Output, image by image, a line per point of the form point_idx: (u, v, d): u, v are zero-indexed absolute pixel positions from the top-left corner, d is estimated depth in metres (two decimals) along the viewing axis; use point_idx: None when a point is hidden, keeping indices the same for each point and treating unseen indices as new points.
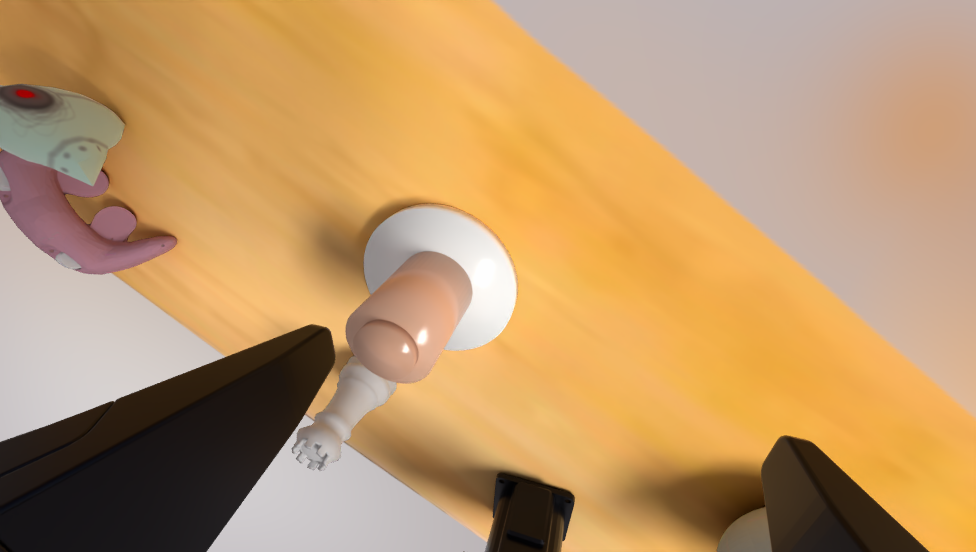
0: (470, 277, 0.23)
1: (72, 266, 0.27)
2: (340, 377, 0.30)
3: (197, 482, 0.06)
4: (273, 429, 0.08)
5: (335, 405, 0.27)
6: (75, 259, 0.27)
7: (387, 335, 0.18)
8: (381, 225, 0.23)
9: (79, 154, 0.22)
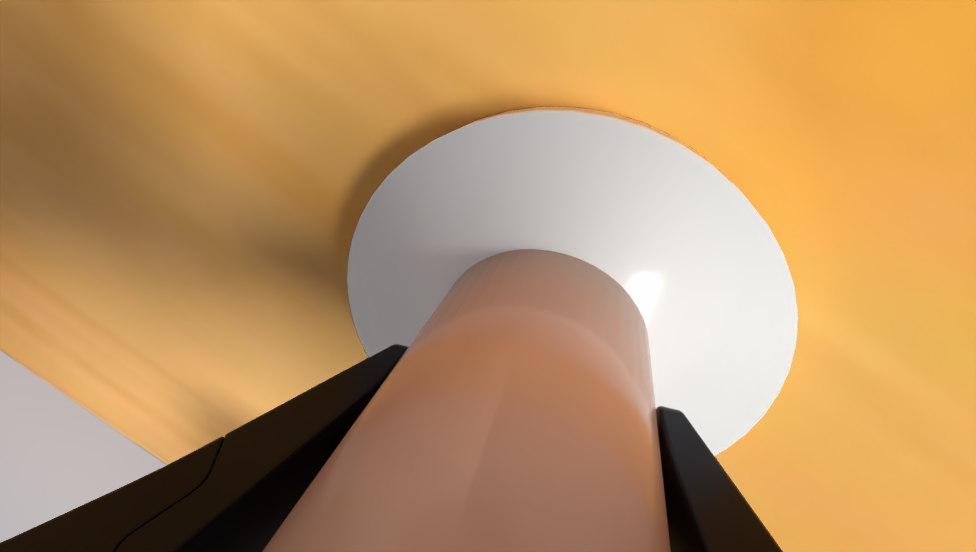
0: (650, 325, 0.08)
1: None
2: None
3: None
4: None
5: None
6: None
7: None
8: (395, 175, 0.08)
9: None
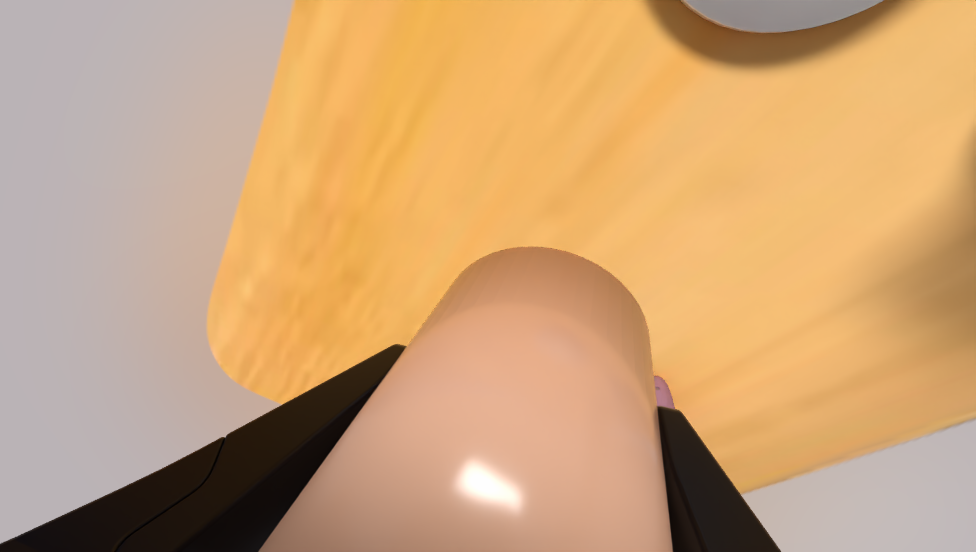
0: None
1: None
2: None
3: None
4: None
5: None
6: None
7: None
8: None
9: None
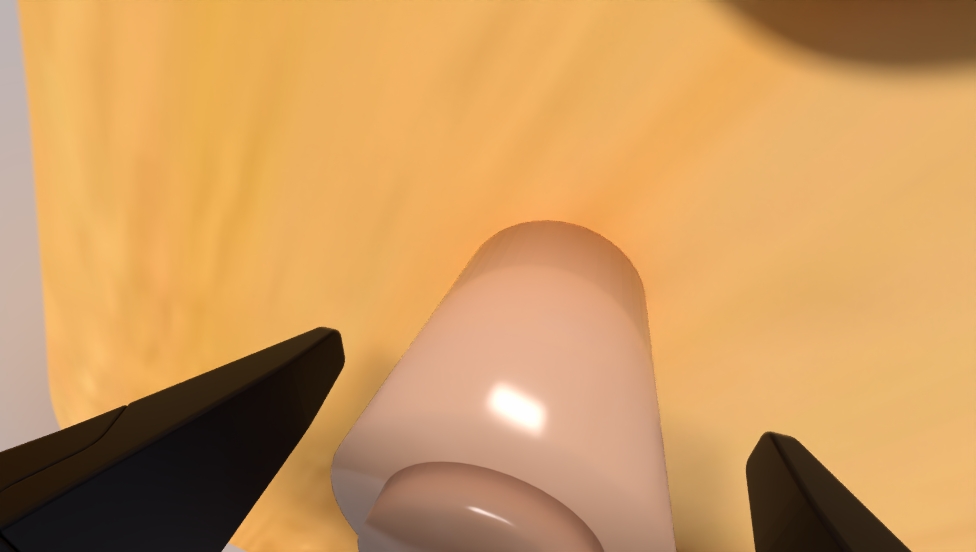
0: None
1: None
2: None
3: (209, 487, 0.06)
4: (284, 432, 0.08)
5: None
6: None
7: (508, 549, 0.04)
8: None
9: None
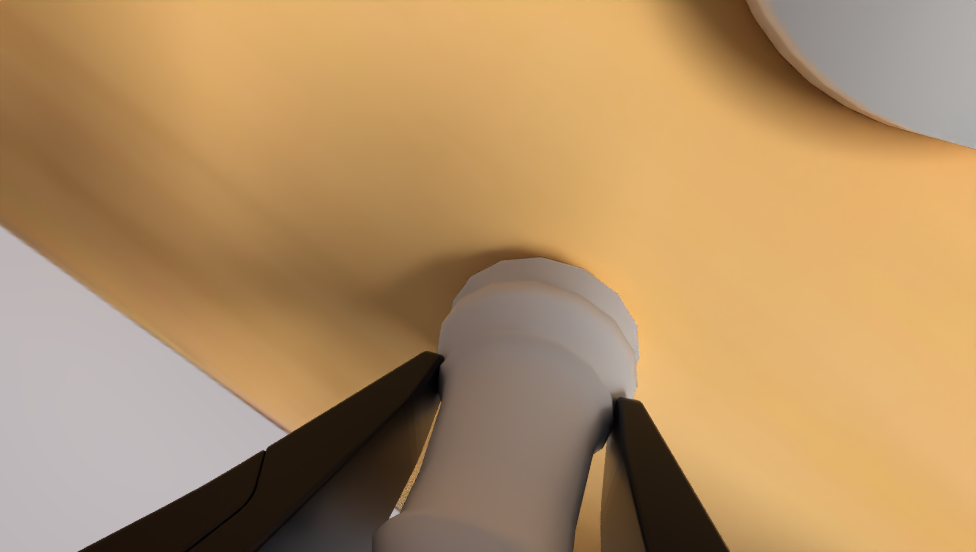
0: None
1: None
2: (449, 341, 0.08)
3: (345, 536, 0.06)
4: (401, 469, 0.07)
5: (482, 469, 0.05)
6: None
7: None
8: None
9: None
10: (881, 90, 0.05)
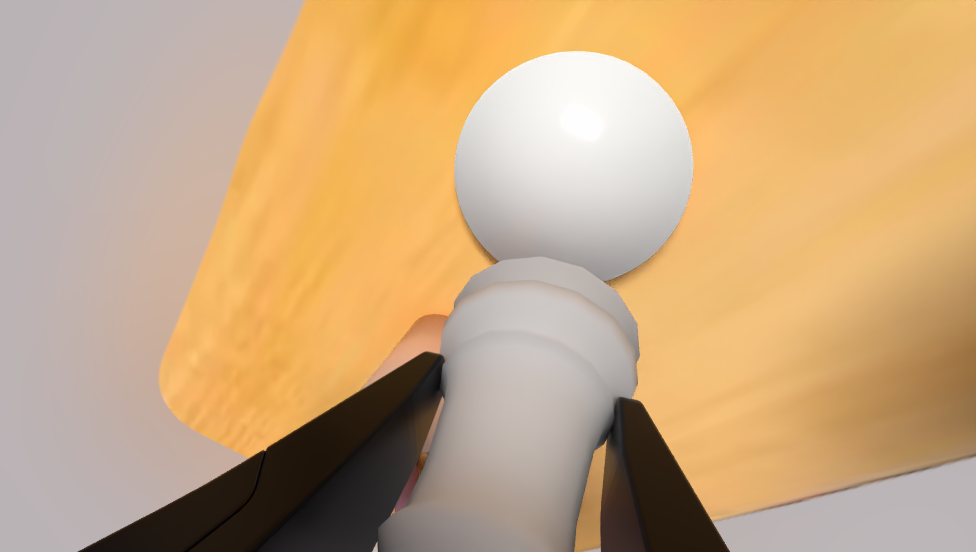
0: (549, 125, 0.16)
1: None
2: (451, 339, 0.08)
3: (345, 536, 0.06)
4: (401, 469, 0.07)
5: (485, 464, 0.05)
6: None
7: None
8: (476, 236, 0.19)
9: None
10: (650, 250, 0.17)
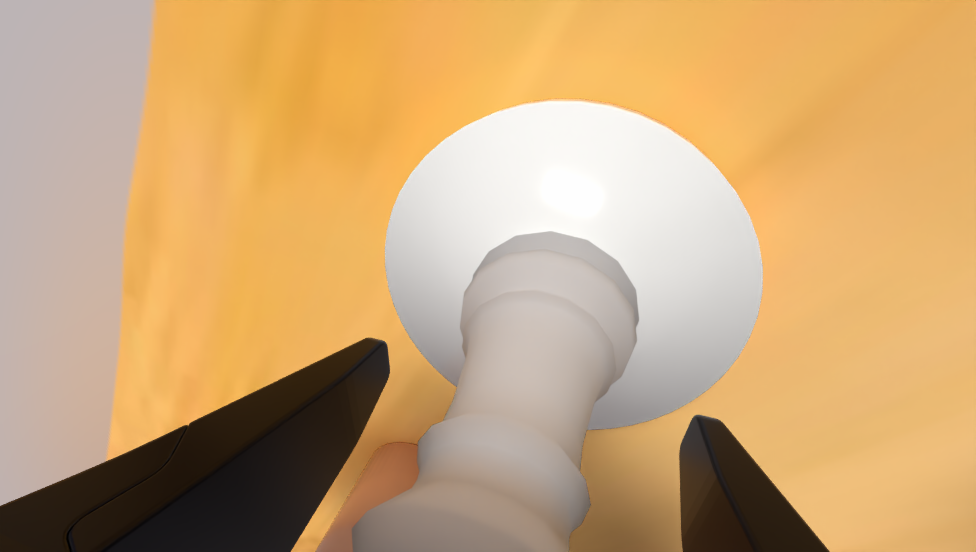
0: (517, 217, 0.10)
1: None
2: (472, 303, 0.09)
3: (269, 508, 0.06)
4: (336, 448, 0.07)
5: (505, 389, 0.06)
6: None
7: None
8: (432, 363, 0.13)
9: None
10: (695, 390, 0.11)
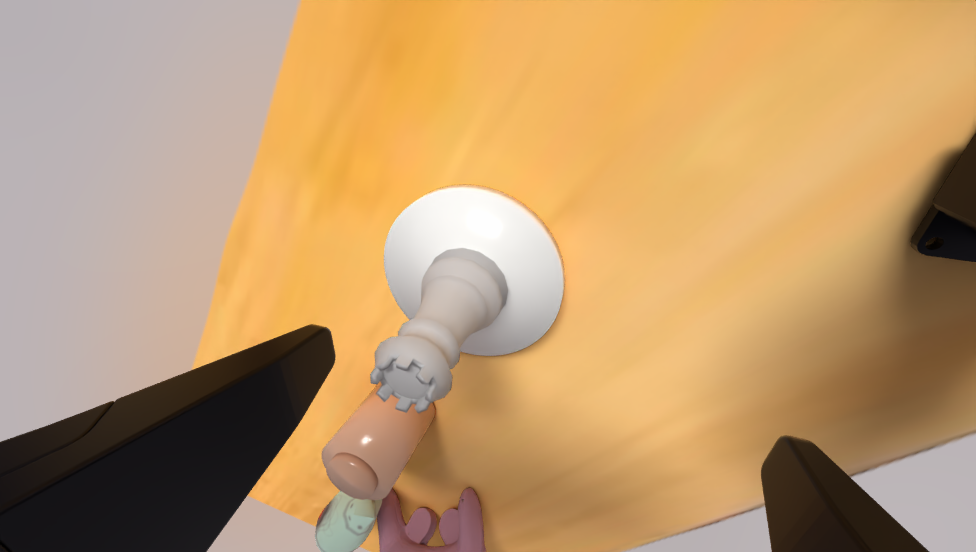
0: (449, 240, 0.20)
1: None
2: (425, 282, 0.19)
3: (197, 482, 0.06)
4: (273, 429, 0.08)
5: (431, 311, 0.17)
6: None
7: (343, 465, 0.23)
8: None
9: (352, 510, 0.29)
10: (544, 328, 0.21)
